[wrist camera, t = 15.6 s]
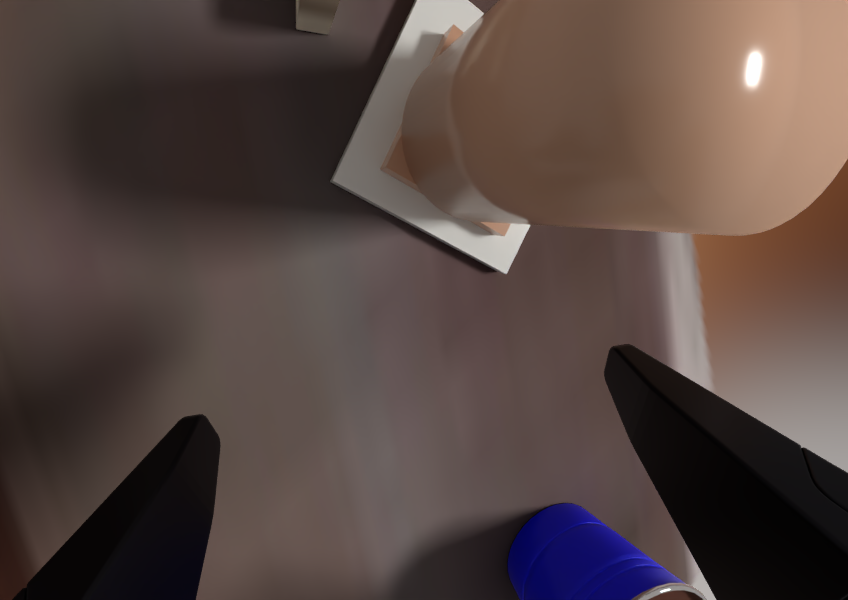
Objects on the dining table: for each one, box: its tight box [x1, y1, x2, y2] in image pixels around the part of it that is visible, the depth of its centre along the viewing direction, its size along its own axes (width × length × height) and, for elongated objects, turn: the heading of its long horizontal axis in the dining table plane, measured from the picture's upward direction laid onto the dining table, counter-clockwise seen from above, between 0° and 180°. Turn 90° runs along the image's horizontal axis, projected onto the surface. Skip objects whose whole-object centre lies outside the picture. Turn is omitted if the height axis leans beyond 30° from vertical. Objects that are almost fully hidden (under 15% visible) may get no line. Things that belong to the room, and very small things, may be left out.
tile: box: [330, 0, 530, 274], centre depth 19 cm, size 9×9×1 cm
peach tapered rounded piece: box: [380, 0, 848, 236], centre depth 13 cm, size 7×7×12 cm
